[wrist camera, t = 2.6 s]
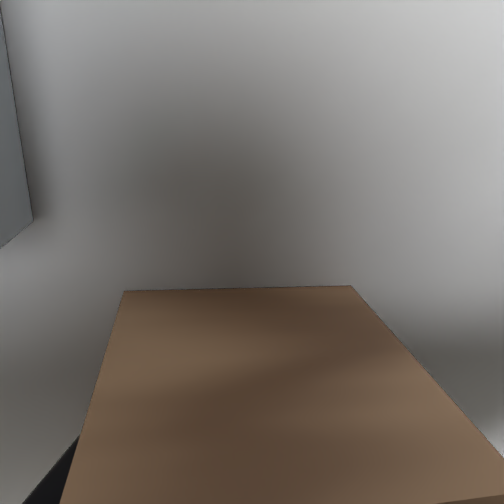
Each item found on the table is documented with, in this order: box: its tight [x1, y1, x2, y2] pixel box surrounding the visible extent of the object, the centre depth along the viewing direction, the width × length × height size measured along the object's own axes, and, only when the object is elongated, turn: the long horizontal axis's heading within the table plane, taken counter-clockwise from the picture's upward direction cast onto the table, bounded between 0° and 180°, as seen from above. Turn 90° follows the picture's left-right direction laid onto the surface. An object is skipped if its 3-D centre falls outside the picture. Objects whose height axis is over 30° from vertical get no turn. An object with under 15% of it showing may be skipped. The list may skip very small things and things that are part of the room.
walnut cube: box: [60, 286, 504, 504], centre depth 7 cm, size 5×5×5 cm
